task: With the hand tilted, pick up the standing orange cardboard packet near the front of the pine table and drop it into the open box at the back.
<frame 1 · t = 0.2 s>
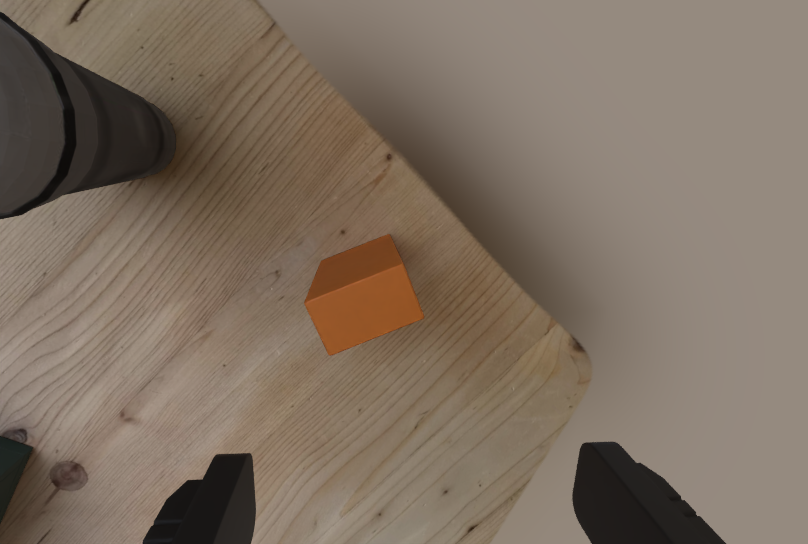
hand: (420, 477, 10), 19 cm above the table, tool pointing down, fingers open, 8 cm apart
packet: (363, 267, 28), on the table
beverage cup: (138, 137, 25), on the table
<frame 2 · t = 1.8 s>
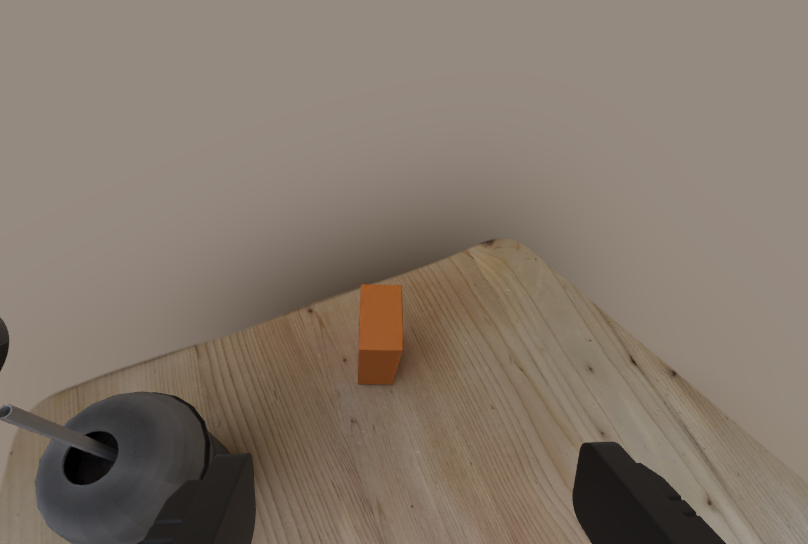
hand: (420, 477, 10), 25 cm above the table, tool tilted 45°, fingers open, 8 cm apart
packet: (375, 356, 37), on the table
beverage cup: (206, 478, 31), on the table
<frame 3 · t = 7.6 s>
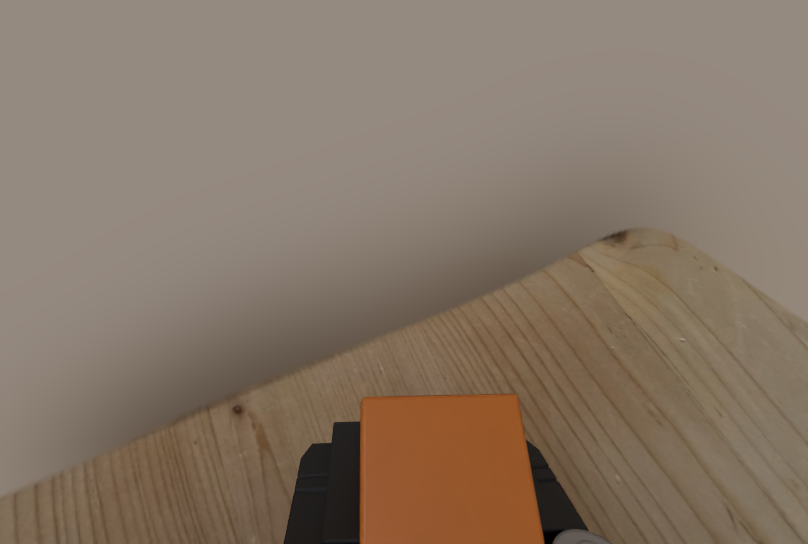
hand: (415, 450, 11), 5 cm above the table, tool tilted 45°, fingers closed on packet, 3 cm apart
packet: (402, 534, 14), on the table, touching gripper
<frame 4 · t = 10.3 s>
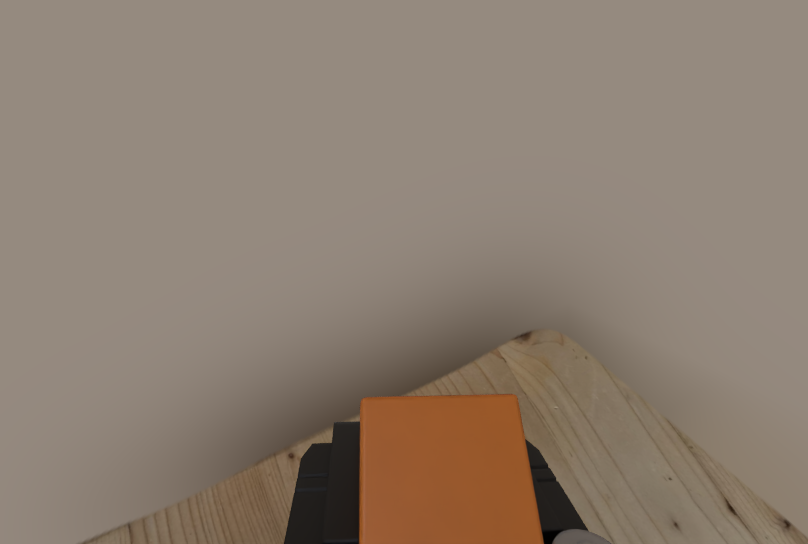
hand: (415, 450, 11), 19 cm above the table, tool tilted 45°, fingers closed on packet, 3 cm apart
packet: (402, 534, 14), point 14 cm above the table, touching gripper
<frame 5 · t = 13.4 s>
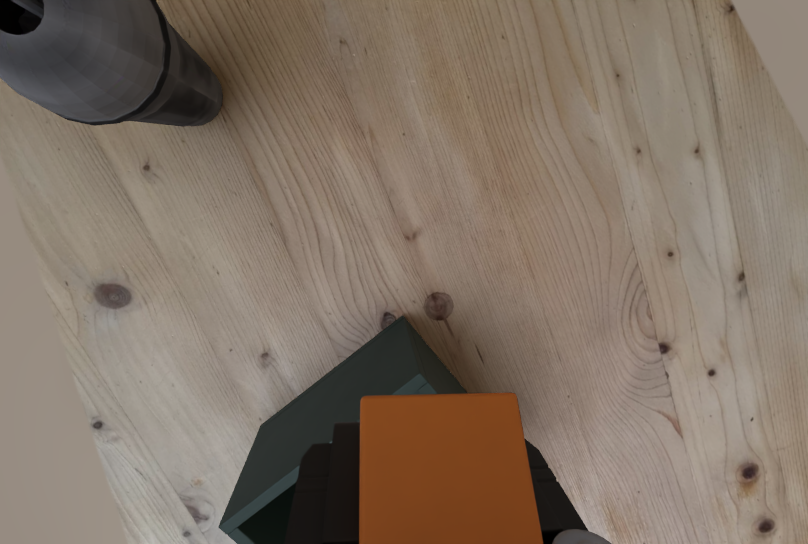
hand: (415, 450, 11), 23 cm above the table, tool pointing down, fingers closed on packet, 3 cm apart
packet: (402, 533, 14), point 21 cm above the table, tilted 43°, touching gripper
open box: (387, 432, 37), on the table
beverage cup: (191, 93, 30), on the table
when the fingers open (16 cm above the table, at t = 18.0 s): packet drops 11 cm and tips over, resting on open box.
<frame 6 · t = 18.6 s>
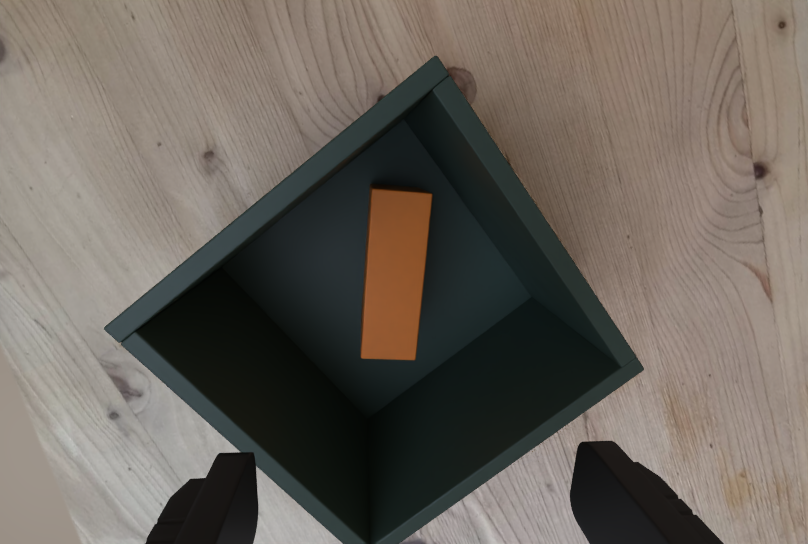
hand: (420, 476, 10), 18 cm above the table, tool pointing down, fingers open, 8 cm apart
packet: (385, 340, 25), point 3 cm above the table, tilted 90°, touching open box
open box: (383, 278, 27), on the table
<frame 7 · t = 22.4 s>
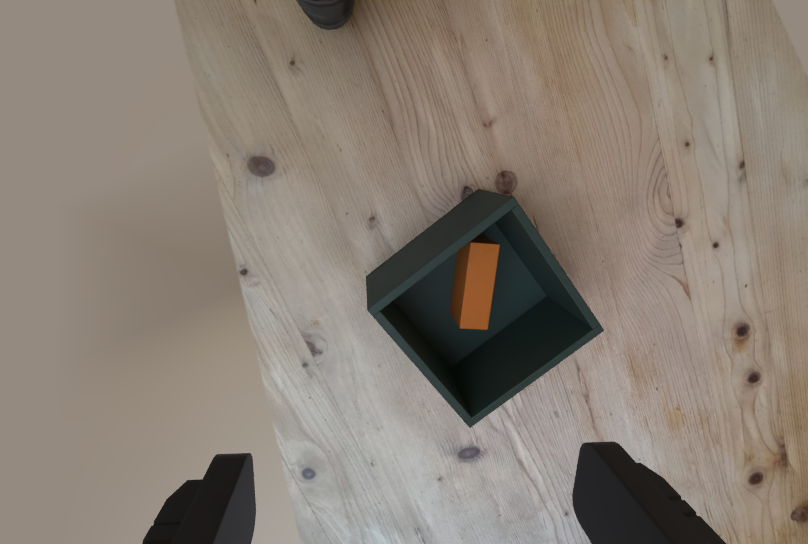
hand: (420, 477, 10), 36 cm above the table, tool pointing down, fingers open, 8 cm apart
packet: (467, 320, 45), point 3 cm above the table, tilted 90°, touching open box
open box: (462, 285, 47), on the table
beverage cup: (328, 3, 39), on the table
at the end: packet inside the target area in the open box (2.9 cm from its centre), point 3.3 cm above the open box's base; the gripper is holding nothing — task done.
